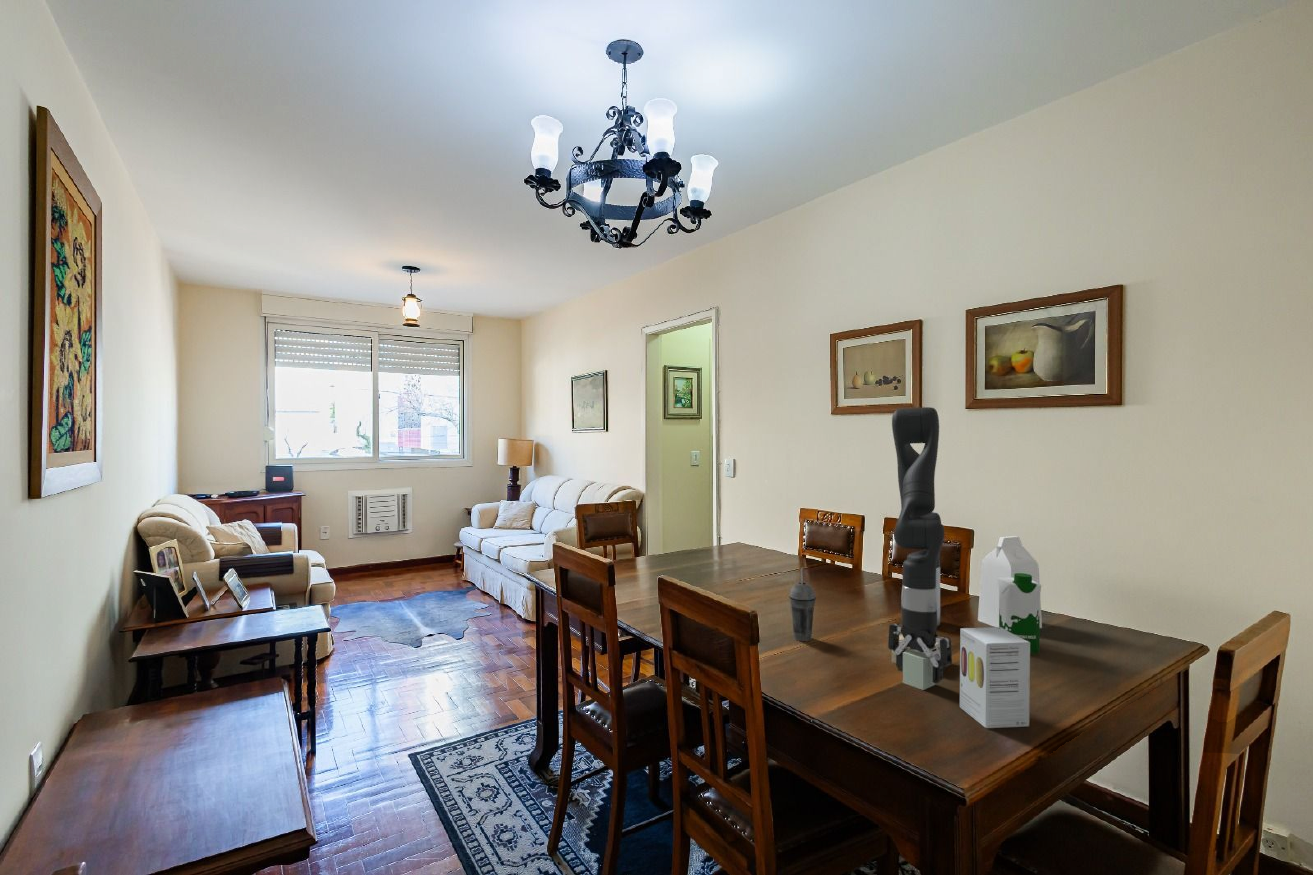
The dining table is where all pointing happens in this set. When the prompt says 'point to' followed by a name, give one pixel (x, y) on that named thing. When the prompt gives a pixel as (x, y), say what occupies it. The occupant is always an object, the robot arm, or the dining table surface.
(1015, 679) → the supplement box
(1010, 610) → the milk carton
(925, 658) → the block
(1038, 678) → the dining table surface
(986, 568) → the milk
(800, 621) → the beverage cup
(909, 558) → the robot arm
